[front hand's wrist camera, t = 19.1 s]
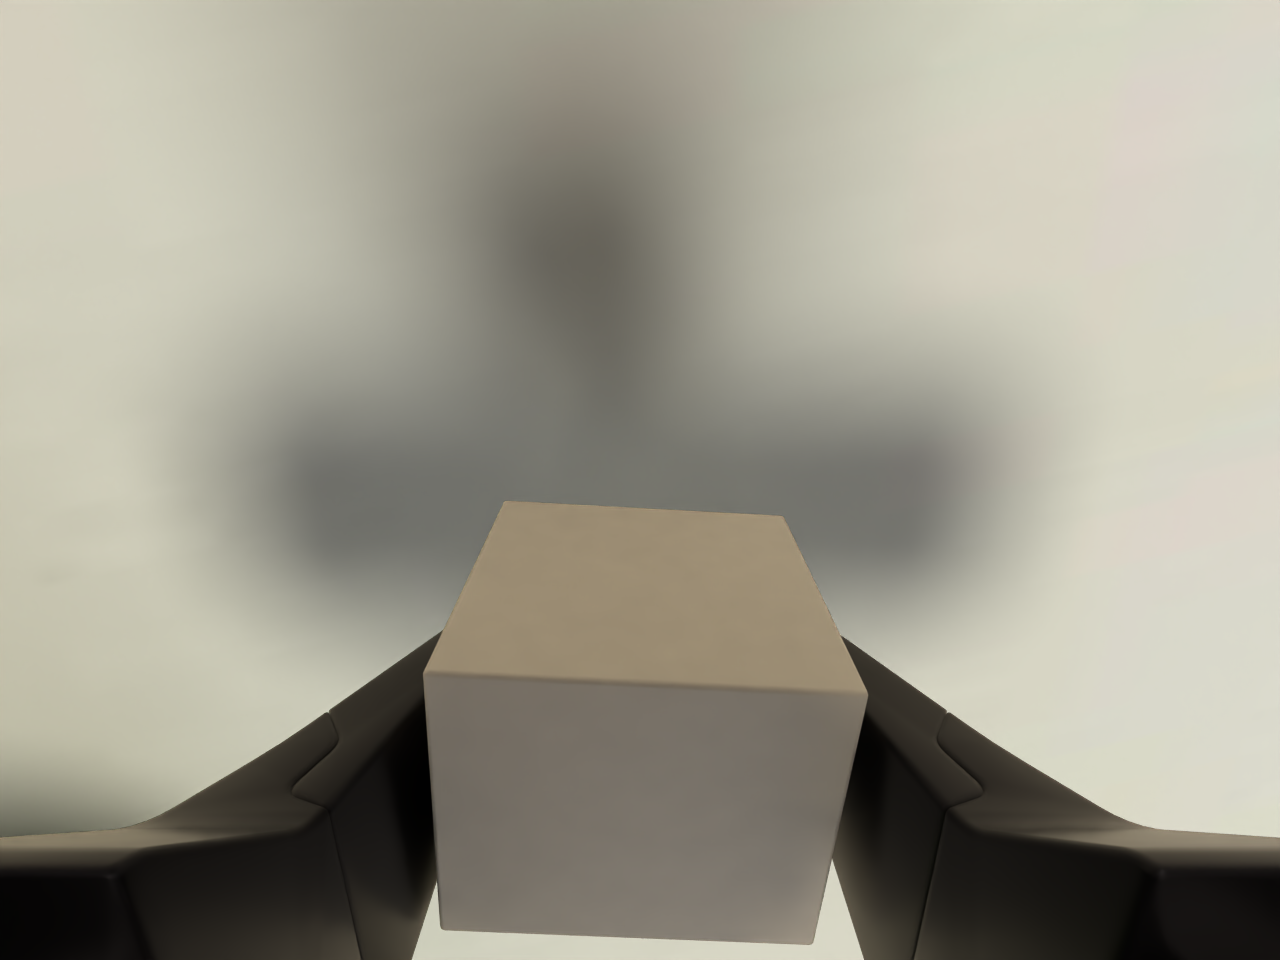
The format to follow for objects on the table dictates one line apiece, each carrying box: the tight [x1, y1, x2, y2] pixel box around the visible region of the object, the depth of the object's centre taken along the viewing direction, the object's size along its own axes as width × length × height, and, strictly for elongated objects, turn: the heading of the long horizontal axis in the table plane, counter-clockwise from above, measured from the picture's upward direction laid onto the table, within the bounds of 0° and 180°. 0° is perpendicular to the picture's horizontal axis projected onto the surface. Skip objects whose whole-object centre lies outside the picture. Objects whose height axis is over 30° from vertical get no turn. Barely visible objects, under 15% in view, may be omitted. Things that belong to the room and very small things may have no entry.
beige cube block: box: [423, 501, 868, 945], centre depth 11 cm, size 5×4×5 cm
